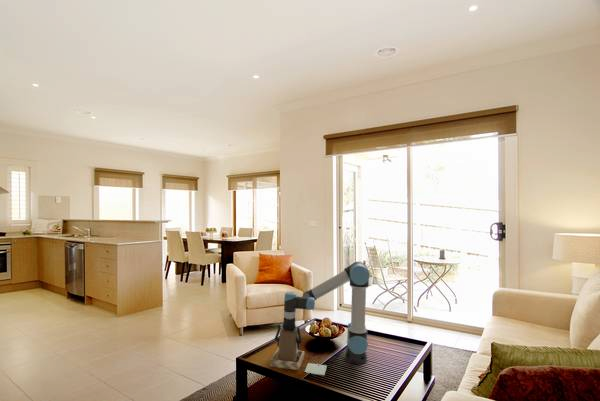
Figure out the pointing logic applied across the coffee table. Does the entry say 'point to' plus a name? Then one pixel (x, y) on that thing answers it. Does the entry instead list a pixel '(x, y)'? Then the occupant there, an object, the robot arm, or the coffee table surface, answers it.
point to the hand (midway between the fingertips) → (288, 352)
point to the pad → (315, 369)
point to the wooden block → (288, 345)
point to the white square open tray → (287, 363)
